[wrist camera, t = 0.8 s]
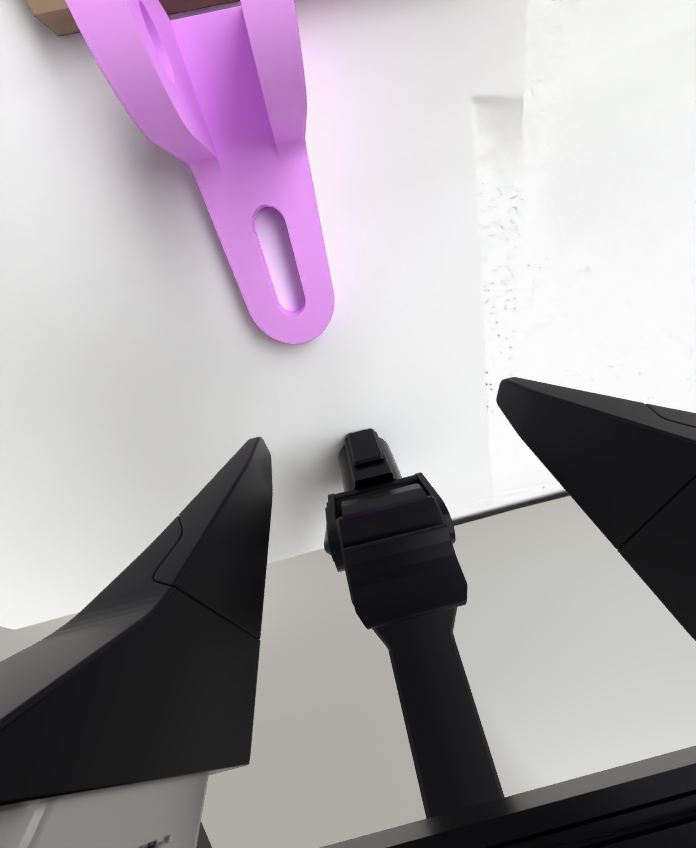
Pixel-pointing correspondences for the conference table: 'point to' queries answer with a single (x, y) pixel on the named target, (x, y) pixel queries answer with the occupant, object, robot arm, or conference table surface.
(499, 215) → the conference table surface
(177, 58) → the bracket
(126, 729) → the robot arm
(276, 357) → the conference table surface
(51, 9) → the board
